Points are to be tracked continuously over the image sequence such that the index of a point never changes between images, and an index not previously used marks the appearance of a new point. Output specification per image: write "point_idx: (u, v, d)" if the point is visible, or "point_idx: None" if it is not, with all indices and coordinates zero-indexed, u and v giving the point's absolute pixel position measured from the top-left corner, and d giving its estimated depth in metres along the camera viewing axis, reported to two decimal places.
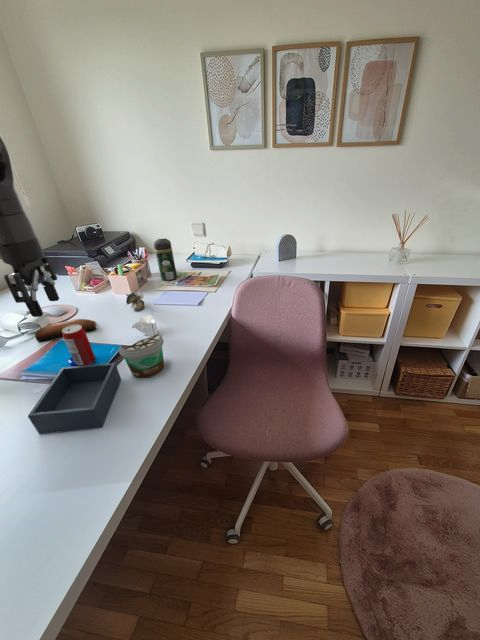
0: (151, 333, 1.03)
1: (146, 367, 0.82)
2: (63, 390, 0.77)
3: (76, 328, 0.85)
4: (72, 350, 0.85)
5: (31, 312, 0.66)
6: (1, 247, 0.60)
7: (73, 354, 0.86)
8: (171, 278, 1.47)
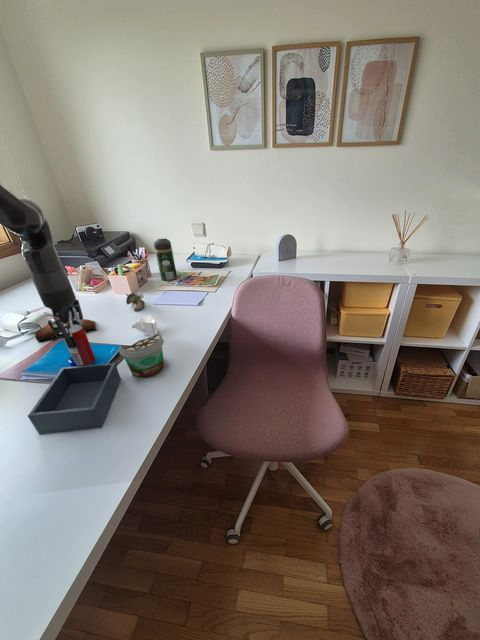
0: (151, 333, 1.03)
1: (146, 367, 0.82)
2: (63, 390, 0.77)
3: (76, 328, 0.85)
4: (72, 350, 0.85)
5: (68, 345, 0.82)
6: (44, 295, 0.75)
7: (73, 354, 0.86)
8: (171, 278, 1.47)
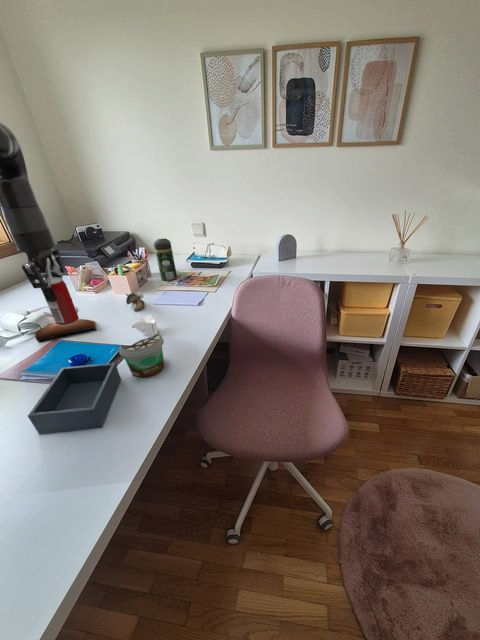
0: (151, 333, 1.03)
1: (146, 367, 0.82)
2: (63, 390, 0.77)
3: (56, 281, 0.76)
4: (51, 304, 0.77)
5: (46, 297, 0.74)
6: (17, 236, 0.66)
7: (53, 310, 0.78)
8: (171, 278, 1.47)
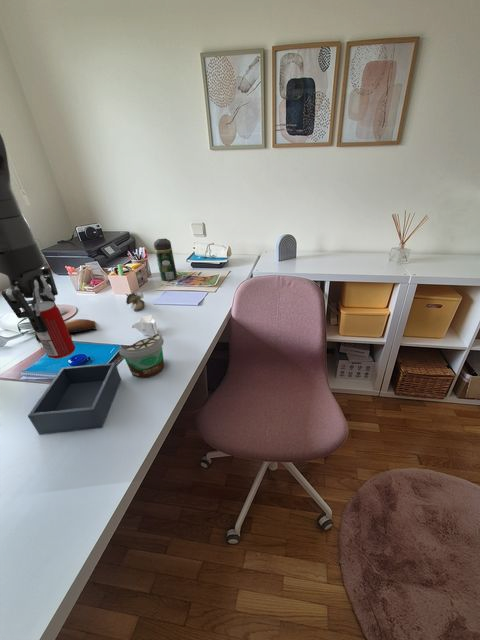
0: (151, 333, 1.03)
1: (146, 367, 0.82)
2: (63, 390, 0.77)
3: (46, 306, 0.62)
4: (41, 335, 0.63)
5: (34, 328, 0.60)
6: None
7: (43, 341, 0.64)
8: (171, 278, 1.47)
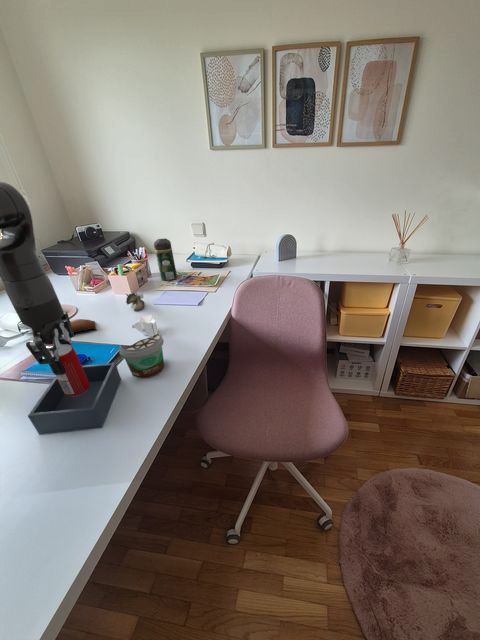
0: (151, 333, 1.03)
1: (146, 367, 0.82)
2: None
3: (64, 350, 0.67)
4: (59, 376, 0.67)
5: (54, 371, 0.65)
6: (21, 310, 0.57)
7: (61, 381, 0.68)
8: (171, 278, 1.47)
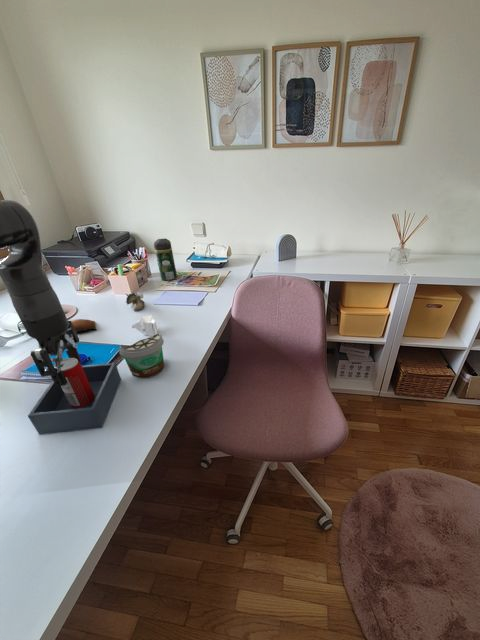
0: (151, 333, 1.03)
1: (146, 367, 0.82)
2: None
3: (71, 363, 0.69)
4: (66, 389, 0.70)
5: (55, 382, 0.65)
6: (28, 323, 0.59)
7: (67, 394, 0.70)
8: (171, 278, 1.47)
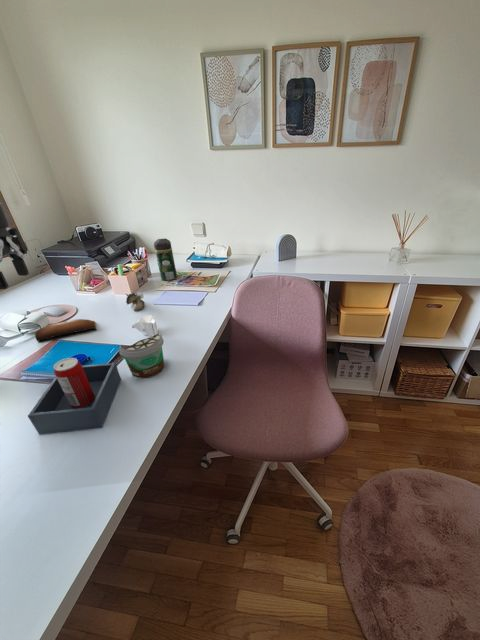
0: (151, 333, 1.03)
1: (146, 367, 0.82)
2: None
3: (71, 363, 0.69)
4: (66, 389, 0.70)
5: None
6: None
7: (67, 394, 0.70)
8: (171, 278, 1.47)
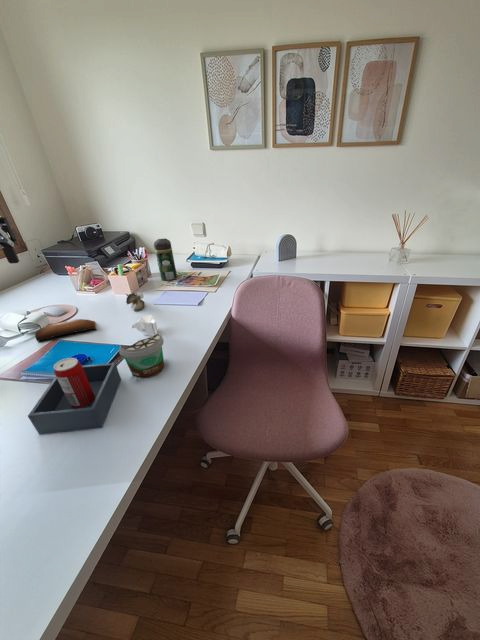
0: (151, 333, 1.03)
1: (146, 367, 0.82)
2: None
3: (71, 363, 0.69)
4: (66, 389, 0.70)
5: None
6: None
7: (67, 394, 0.70)
8: (171, 278, 1.47)
